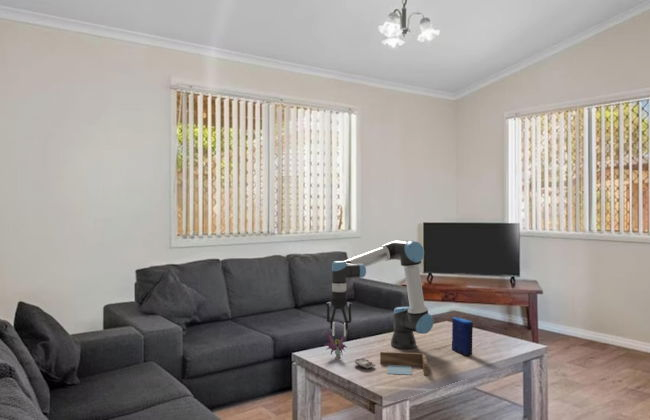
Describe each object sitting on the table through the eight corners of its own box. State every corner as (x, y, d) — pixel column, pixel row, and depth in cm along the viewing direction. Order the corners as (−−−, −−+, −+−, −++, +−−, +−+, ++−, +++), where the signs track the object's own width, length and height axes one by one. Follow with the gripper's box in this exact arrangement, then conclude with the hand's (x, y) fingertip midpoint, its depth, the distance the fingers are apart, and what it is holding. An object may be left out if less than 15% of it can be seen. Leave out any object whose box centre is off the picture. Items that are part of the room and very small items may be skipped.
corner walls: (380, 362, 261) (380, 351, 261) (425, 364, 257) (425, 353, 257) (379, 373, 243) (379, 361, 243) (427, 375, 240) (427, 363, 240)
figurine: (350, 357, 271) (350, 330, 271) (347, 361, 263) (347, 333, 263) (327, 355, 275) (327, 328, 275) (323, 359, 267) (323, 332, 267)
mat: (387, 365, 256) (387, 364, 256) (410, 366, 255) (410, 365, 255) (387, 373, 242) (387, 373, 242) (411, 375, 241) (411, 374, 241)
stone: (351, 364, 257) (351, 357, 257) (365, 362, 261) (365, 356, 261) (363, 370, 246) (363, 363, 246) (378, 368, 251) (378, 361, 251)
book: (450, 350, 285) (450, 316, 285) (457, 349, 287) (457, 315, 287) (466, 357, 271) (465, 321, 272) (473, 356, 273) (473, 320, 274)
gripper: (320, 291, 250) (320, 336, 250) (356, 292, 247) (356, 338, 247) (322, 289, 257) (322, 333, 257) (357, 290, 255) (357, 334, 254)
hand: (339, 335), depth 252 cm, fingers open, 5 cm apart
